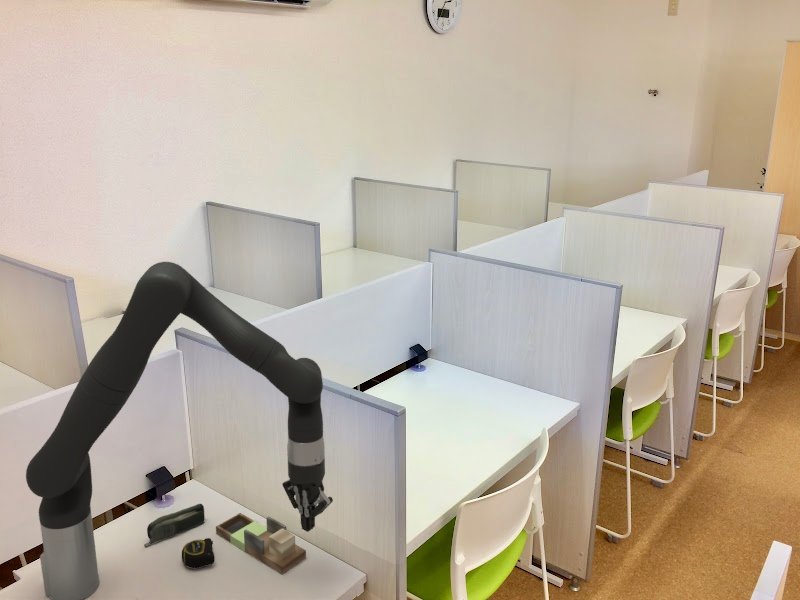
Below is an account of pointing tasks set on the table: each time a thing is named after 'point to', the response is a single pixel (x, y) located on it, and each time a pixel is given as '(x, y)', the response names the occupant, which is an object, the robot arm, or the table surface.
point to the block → (282, 543)
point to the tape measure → (198, 553)
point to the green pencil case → (175, 523)
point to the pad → (238, 536)
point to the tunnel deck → (261, 542)
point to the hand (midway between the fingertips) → (308, 528)
